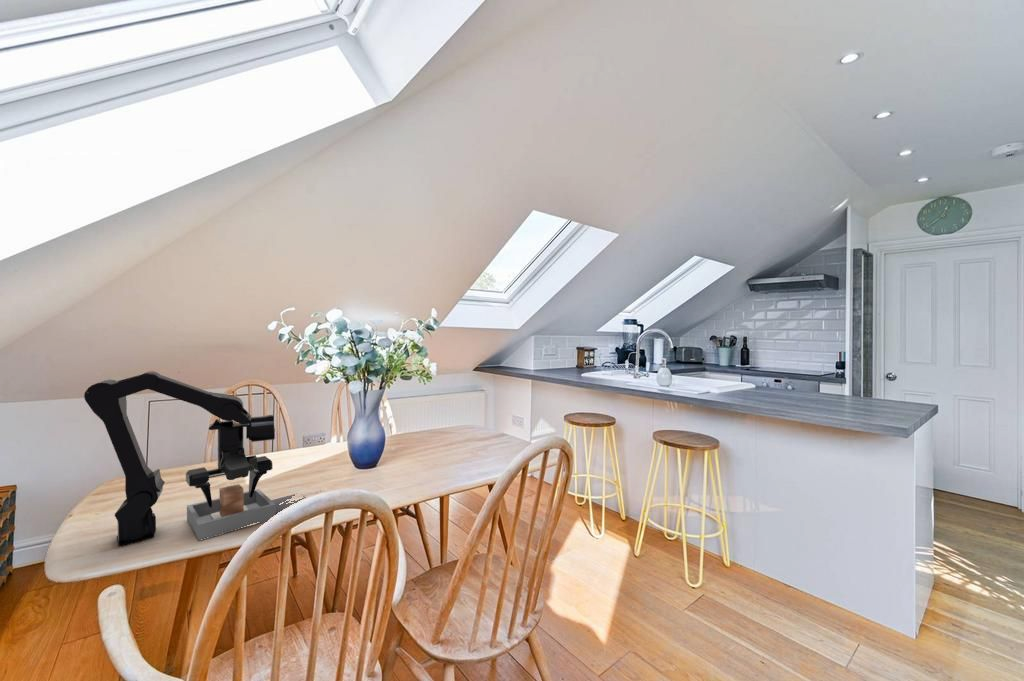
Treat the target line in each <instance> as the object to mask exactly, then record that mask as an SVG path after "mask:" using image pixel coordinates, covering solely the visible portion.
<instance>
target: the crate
mask: <svg viewBox="0 0 1024 681" xmlns="http://www.w3.org/2000/svg"><path fill="white" fill-rule="evenodd" d="M243 498H244V511H243V512H239V513H235V514H231V515H228V516H224V517H221V515H220V497H218V498H214V499H213V498H212V507H209V505H208V503H207V500H205V501H201V502H196V503H193V504H188V505H186V519H187V523H188V522H189V523H188V525H189V524H190V525H189V526H190V528H191V530H192V533H195V534H194V536H195V537H196V539H197V538H198V539H197V541H198V540H200V541H202V540H201V539H204V538H207V537H211V536H214V537H216V536H215V535H218V536H220V535H219V534H221V535H223V534H222V533H225V534H227V533H226V532H228V533H230V532H229V531H231V530H235V529H238V528H241V527H244V526H247V525H250V524H253V523H257V522H260V524H263V523H266V521H267V520H269V519H270V518H271V517H273V516H274V515H276V504H275V503H274V502H272V501H271V500H272V499H270V497H268V496H267V495H266V494H265V493H264V492H263V491H262V490H261V489H259V488H255V491H254V493H253V496H252V497H251V498H250V497H249V490H248V491H243ZM276 516H277V515H276ZM267 522H268V521H267ZM235 531H236V530H235ZM211 538H212V537H211ZM207 539H208V538H207ZM204 540H205V539H204Z"/></svg>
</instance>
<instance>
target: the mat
mask: <svg viewBox="0 0 1024 681" xmlns="http://www.w3.org/2000/svg"><path fill="white" fill-rule="evenodd" d="M298 493H299V492H298ZM298 493H295V494H298ZM295 494H290V495H287V496H283V497H278V498H274V499H270V500H271V501H272V502H274V503H275V504H276V514H277V513H278V512H280V511H282V510H283V509H285V508H287V507H289V506H290V505H292V504H294V503H297V502H298V501H300V500H302V499H304V498H302V499H299V500H297V501H295V500H294V501H291V502H294V503H288V502H289V501H290V500H289V501H286V500H287V499H291V498H292V496H295ZM303 497H305V496H304V495H303ZM285 501H286V502H285ZM282 502H284V503H283V504H281V505H279V504H280V503H282ZM286 503H288V504H286Z"/></svg>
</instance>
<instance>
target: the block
mask: <svg viewBox="0 0 1024 681" xmlns="http://www.w3.org/2000/svg"><path fill="white" fill-rule="evenodd" d="M218 491H219V494H218V495H219V498H220V515H221V517H224V516H228V515H231V514H235V513H239V512H243V511H244V498H243V492H244V487H242V485H240V483H238V484H233V485H228V486H224V487H219V490H218Z"/></svg>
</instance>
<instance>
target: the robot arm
mask: <svg viewBox="0 0 1024 681" xmlns="http://www.w3.org/2000/svg"><path fill="white" fill-rule="evenodd" d="M145 390H150V391H151V392H156V393H158V394H162V395H165V396H168V397H171V398H174V399H177V400H180V401H181V402H182V401H183V402H186V403H189V404H191V405H194V406H197V407H199V408H201V409H204V410H205V411H207V412H208V413H209V414H211V415H213V416H215V417H217V418H216V419H215V420H214V422H213V423H211V424H210V425H209V427H208V430H209V431H214V430H215V431H216V430H217V468H215V469H209V470H208V469H206V467H199V468H198V467H197V468H193V469H188V471H186V473H185V482H186V483H187V485H188V486H189V487H194V488H195V489H200V490H201V491H202V493H203V496H204V498H205V501H207V503H208V505H209V507H212V500H213V498H212V493H211V483H210V482H209V481H210V479H211V478H216V477H220V476H221V477H222V476H225V477H226V480H228V481H234V480H235V479H239V478H246V477H248V479H249V480H248V491H249V497H250V498H251V497H252V496H253V493H254V491H255V490H256V489H257V488H256V487H257V485H258V483H259V481H260V479H261V477H262V476H263V475H265V474H268V472H269V471H273V460H271V459H270V458H268V457H267V456H265V455H263V456H257V455H256V454H255V455H249V456H246V454H245V448H244V428H246V429H245V431H246V432H245V433H246V435H245V436H246V437H245V438H246V440H248V441H251V443H257V442H265V441H274V440H275V439H276V428H275V423H274V422H275V421H274V420H275V419H274V417H275V416H274V415H273V414H269V415H263V416H252V414H250V413H249V412H248V411H247V410H246V409H245V407H244V402H243V399H242V398H240V397H239V396H236V395H232V394H231V395H230V394H227V393H226V394H225V393H219V392H212V391H207V390H204V389H202V388H200V387H196V386H193V385H190V384H187V383H185V382H181V381H179V380H176V379H173V378H170V377H167V376H165V375H162V374H160V373H159V372H156V371H154V370H153V371H147V372H144V373H142V374H138V375H135V376H134V375H133V376H131V377H127V378H124V379H121V380H114V379H105V380H102V381H99V382H96V383H94V384H92V385H90V386H89V387H88V388H87V389H86V390H85V391H84V394H83V397H84V400H85V402H86V404H87V405H88V407H89V408H90V409H91V411H92V413H94V414H95V415H96V416H97V417H98V419H100V420H101V421H102V423H103V424H104V428H105V430H106V432H107V434H108V436H109V439H110V441H111V444H112V447H113V449H114V452H115V454H116V457H117V458H118V461H119V465H120V466H121V469H122V471H123V474H124V477H125V483H124V484H125V489H124V490H125V498H126V499H125V500H124V501H122V503H121V504H120V506H119V508H118V509H117V510H116V512H114V518H115V519H116V521H117V536H116V541H117V542H116V543H117V546H121V547H124V546H123V545H125V546H128V544H129V545H132V544H131V543H133V544H136V543H140V542H142V541H143V540H144V541H146V540H147V539H148V540H150V539H154V538H155V533H156V532H157V518H156V513H154V511H153V508H152V507H153V506H154V505H156V504H157V501H158V500H159V498H160V496H161V495H162V493H163V490H164V485H165V483H166V482H165V480H163V479H162V477H161V475H162V474H161V470H160V469H159V468H158V469H156V470H154V471H153V470H152V469H151V468H150V467H149V466H148V464H147V462H146V460H145V458H144V456H143V453H142V450H141V447H140V445H139V442H138V440H137V437H136V435H135V432H134V430H133V427H132V425H131V422H130V420H129V416H128V412H127V409H128V408H127V407H128V405H127V404H128V403H127V396H130V395H133V394H136V393H140V392H142V391H145ZM218 418H219V419H221V420H223V421H221V420H219V419H218ZM139 541H140V542H139ZM135 542H136V543H135Z"/></svg>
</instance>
